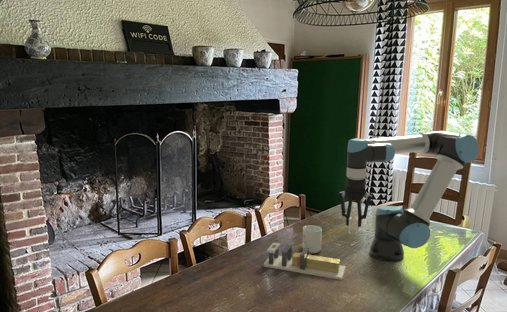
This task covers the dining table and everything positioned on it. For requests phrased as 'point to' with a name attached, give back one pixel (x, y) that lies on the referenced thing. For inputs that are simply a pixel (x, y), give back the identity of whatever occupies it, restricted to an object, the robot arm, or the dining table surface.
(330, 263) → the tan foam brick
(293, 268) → the slab
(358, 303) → the dining table surface
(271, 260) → the collars
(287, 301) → the dining table surface
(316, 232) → the mug
